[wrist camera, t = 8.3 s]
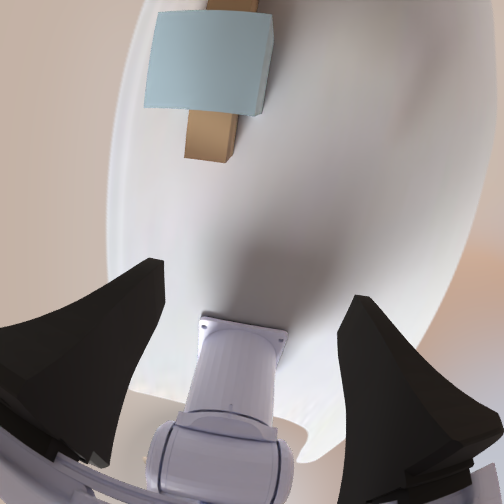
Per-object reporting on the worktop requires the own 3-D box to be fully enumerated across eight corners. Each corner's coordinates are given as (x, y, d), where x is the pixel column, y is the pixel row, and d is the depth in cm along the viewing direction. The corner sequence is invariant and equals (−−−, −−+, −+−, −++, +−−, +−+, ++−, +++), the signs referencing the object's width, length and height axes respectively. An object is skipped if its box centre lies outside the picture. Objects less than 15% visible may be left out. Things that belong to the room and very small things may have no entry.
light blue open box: (261, 113, 16) (254, 116, 11) (181, 104, 16) (143, 107, 11) (274, 40, 13) (272, 14, 8) (191, 34, 13) (158, 12, 8)
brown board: (232, 154, 17) (224, 164, 15) (196, 150, 17) (181, 159, 15) (261, -13, 11) (258, -31, 9) (223, -15, 11) (214, -33, 9)
